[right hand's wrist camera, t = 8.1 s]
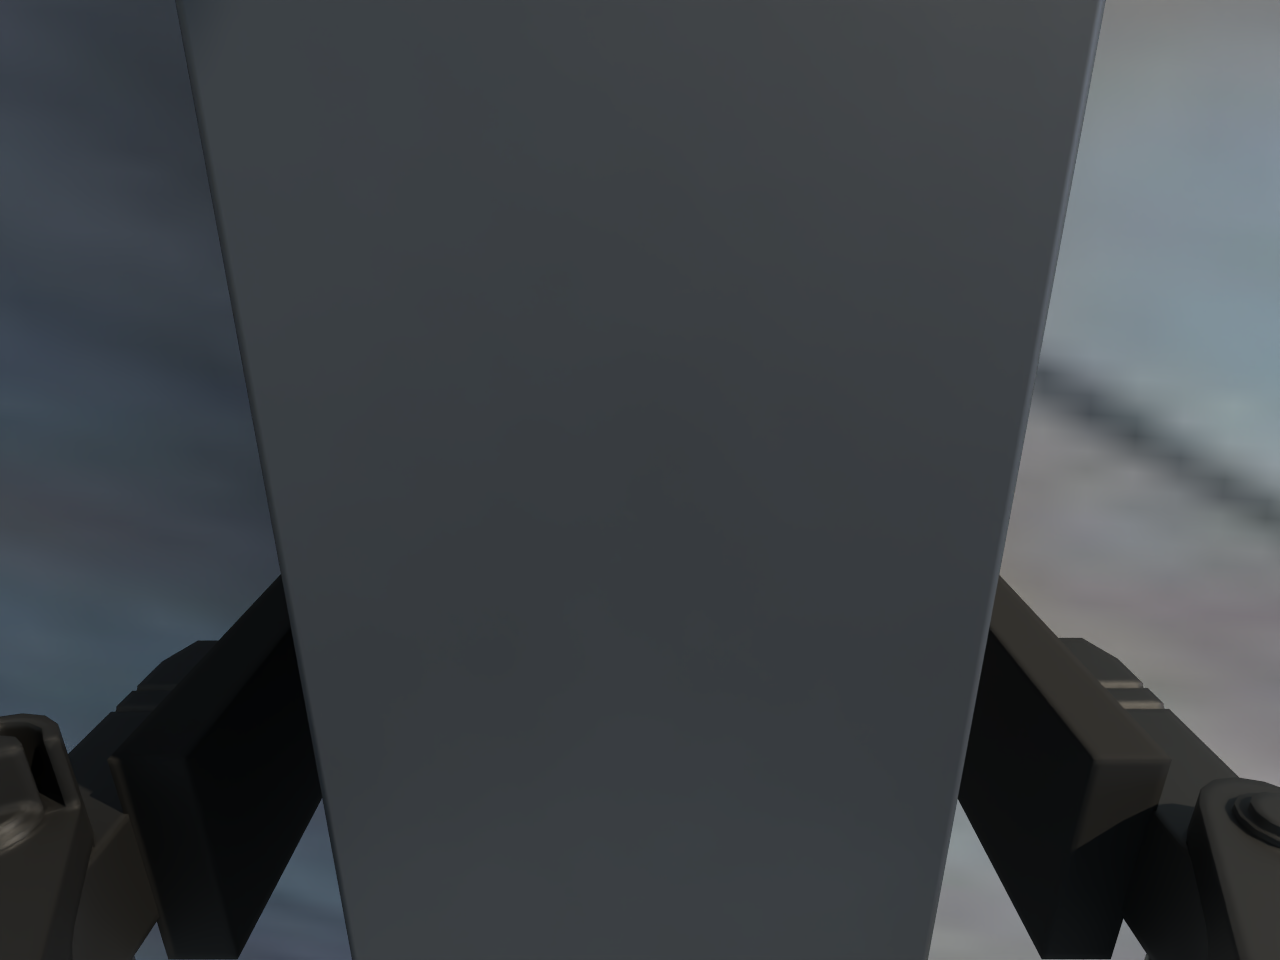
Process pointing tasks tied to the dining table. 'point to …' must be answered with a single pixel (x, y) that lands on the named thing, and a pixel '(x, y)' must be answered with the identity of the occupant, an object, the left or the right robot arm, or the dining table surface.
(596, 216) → the beam
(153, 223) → the dining table surface
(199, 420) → the dining table surface
